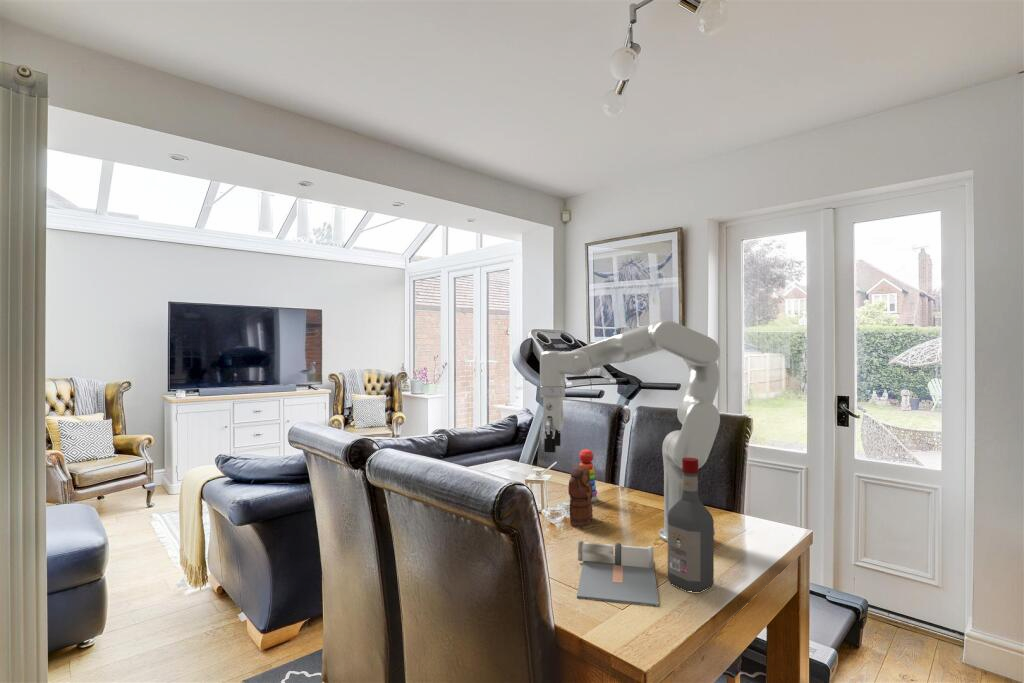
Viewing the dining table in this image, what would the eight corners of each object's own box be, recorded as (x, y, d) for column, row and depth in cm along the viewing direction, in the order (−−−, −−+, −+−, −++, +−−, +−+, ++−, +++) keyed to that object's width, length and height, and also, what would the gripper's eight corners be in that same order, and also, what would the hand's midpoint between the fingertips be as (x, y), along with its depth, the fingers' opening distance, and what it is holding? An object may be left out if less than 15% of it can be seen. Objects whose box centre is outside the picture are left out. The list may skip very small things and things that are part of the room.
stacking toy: (572, 497, 194) (572, 447, 194) (592, 496, 196) (592, 446, 196) (580, 504, 186) (580, 451, 186) (600, 502, 188) (601, 450, 188)
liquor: (695, 596, 119) (695, 465, 119) (662, 581, 126) (662, 458, 126) (718, 585, 124) (718, 460, 124) (685, 571, 131) (685, 453, 131)
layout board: (652, 561, 137) (652, 539, 137) (658, 606, 114) (658, 580, 114) (584, 555, 141) (584, 534, 141) (576, 597, 118) (576, 572, 118)
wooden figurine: (586, 528, 162) (586, 470, 162) (566, 525, 164) (566, 469, 164) (595, 516, 173) (595, 462, 173) (576, 514, 175) (576, 461, 175)
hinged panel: (613, 561, 135) (613, 543, 135) (613, 563, 134) (613, 545, 134) (578, 558, 137) (578, 540, 137) (577, 560, 136) (577, 542, 136)
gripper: (560, 395, 147) (560, 455, 146) (568, 389, 163) (568, 443, 163) (534, 394, 148) (534, 454, 148) (545, 389, 165) (545, 442, 165)
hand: (552, 448), depth 156 cm, fingers open, 9 cm apart
